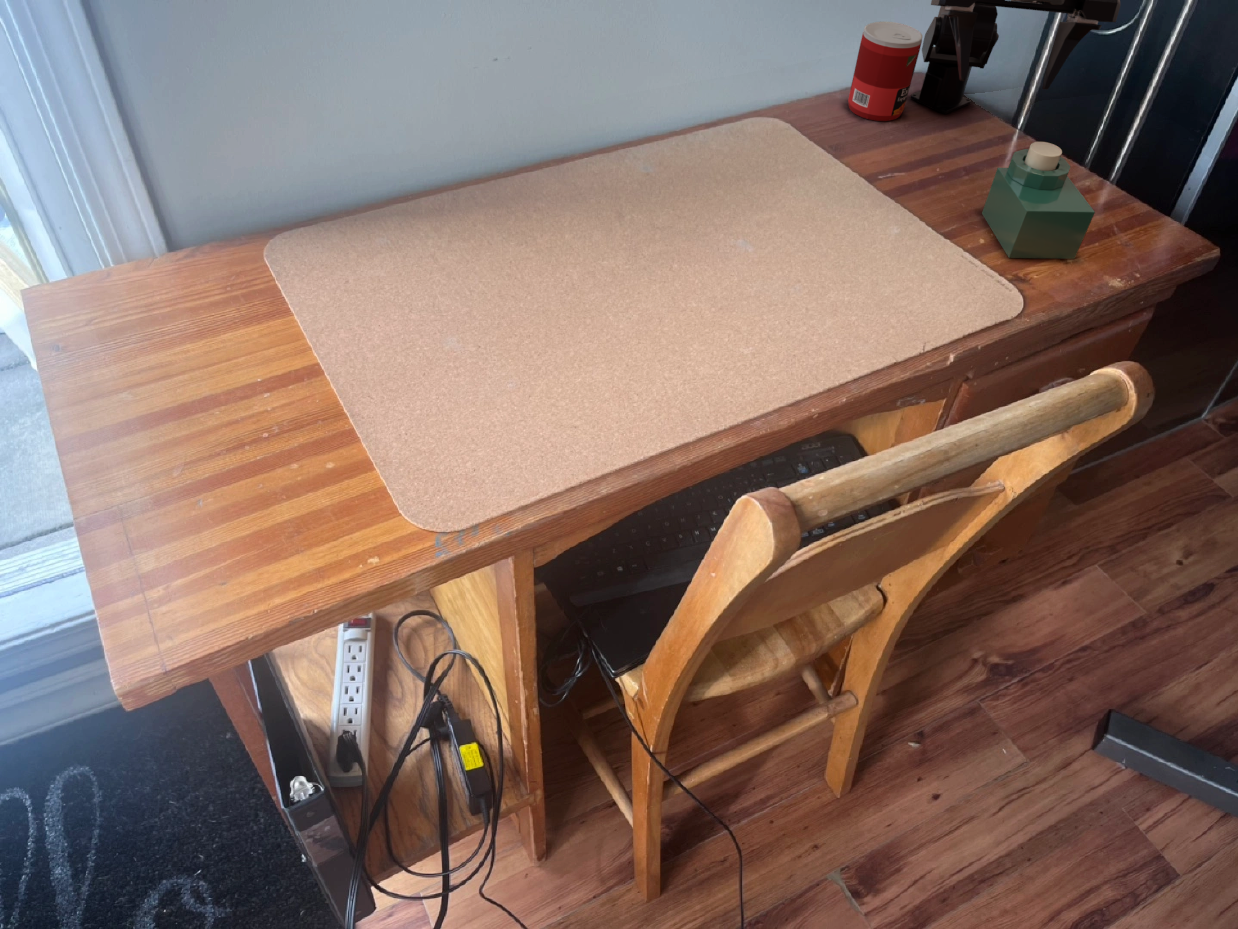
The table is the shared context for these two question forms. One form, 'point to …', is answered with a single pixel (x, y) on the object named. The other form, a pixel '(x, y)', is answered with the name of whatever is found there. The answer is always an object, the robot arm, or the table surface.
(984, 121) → the table surface
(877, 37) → the canned food
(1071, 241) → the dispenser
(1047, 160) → the cream push button
